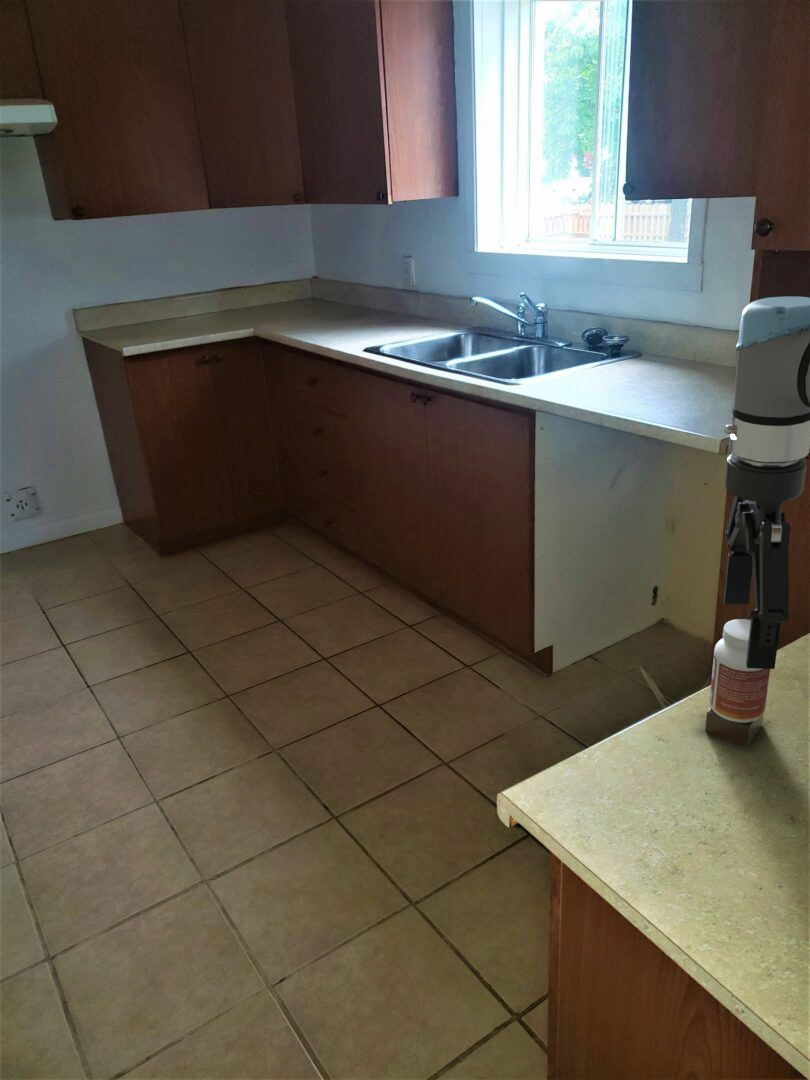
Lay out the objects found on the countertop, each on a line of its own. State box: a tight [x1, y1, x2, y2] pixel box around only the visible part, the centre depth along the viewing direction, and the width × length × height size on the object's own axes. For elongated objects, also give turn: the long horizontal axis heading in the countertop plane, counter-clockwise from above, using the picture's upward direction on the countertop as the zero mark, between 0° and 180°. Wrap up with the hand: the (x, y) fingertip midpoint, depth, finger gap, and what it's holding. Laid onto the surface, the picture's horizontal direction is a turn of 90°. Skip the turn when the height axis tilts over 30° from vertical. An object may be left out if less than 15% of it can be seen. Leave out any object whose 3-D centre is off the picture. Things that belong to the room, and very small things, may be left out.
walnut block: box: [704, 707, 764, 748], centre depth 98 cm, size 5×5×3 cm
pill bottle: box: [709, 618, 771, 723], centre depth 95 cm, size 6×6×11 cm
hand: (747, 632), depth 92 cm, fingers open, 13 cm apart
